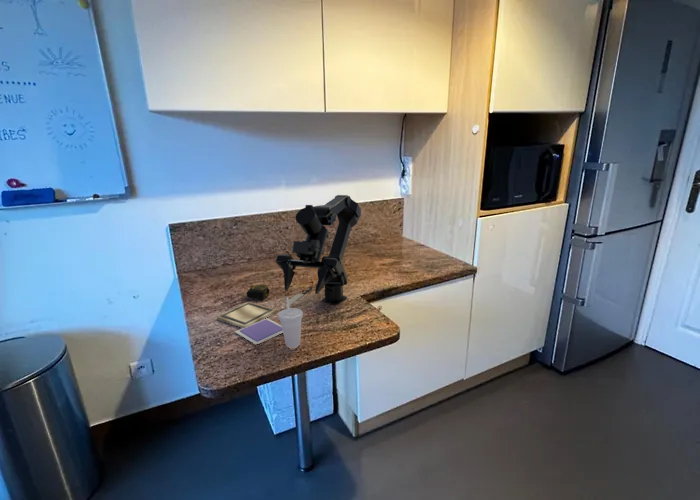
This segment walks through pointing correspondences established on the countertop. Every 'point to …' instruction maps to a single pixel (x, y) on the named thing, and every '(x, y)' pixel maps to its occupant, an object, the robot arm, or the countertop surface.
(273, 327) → the ink pad
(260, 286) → the tape measure
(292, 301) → the chef's knife
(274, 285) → the countertop surface
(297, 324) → the smoothie
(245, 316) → the board
